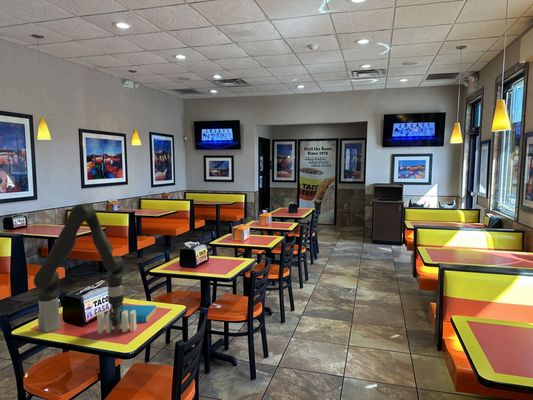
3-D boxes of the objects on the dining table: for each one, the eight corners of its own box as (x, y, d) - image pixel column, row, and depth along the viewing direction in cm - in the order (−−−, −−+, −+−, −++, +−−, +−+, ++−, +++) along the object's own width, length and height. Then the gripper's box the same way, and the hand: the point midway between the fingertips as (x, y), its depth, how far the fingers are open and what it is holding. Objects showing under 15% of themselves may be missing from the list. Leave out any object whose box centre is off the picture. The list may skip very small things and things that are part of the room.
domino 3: (114, 332, 199) (113, 314, 198) (117, 328, 204) (116, 310, 203) (118, 332, 199) (117, 314, 198) (120, 328, 204) (119, 310, 203)
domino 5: (130, 331, 200) (129, 313, 199) (132, 327, 204) (131, 310, 203) (134, 331, 200) (133, 313, 199) (136, 327, 205) (135, 309, 204)
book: (116, 305, 229) (156, 304, 228) (116, 311, 229) (156, 311, 228) (103, 316, 212) (146, 315, 211) (103, 323, 212) (146, 323, 211)
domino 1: (97, 333, 198) (96, 315, 197) (101, 329, 203) (100, 311, 202) (101, 333, 198) (100, 315, 197) (104, 329, 203) (104, 311, 202)
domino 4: (122, 332, 199) (121, 314, 198) (124, 328, 204) (124, 310, 203) (126, 331, 199) (125, 313, 198) (128, 327, 204) (127, 310, 203)
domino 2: (106, 332, 198) (105, 314, 197) (109, 328, 203) (108, 311, 202) (109, 332, 199) (109, 314, 198) (112, 328, 203) (111, 311, 203)
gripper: (112, 289, 206) (114, 317, 208) (103, 298, 192) (105, 328, 193) (126, 288, 207) (127, 317, 208) (118, 298, 193) (120, 328, 194)
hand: (117, 322), depth 201 cm, fingers open, 8 cm apart
